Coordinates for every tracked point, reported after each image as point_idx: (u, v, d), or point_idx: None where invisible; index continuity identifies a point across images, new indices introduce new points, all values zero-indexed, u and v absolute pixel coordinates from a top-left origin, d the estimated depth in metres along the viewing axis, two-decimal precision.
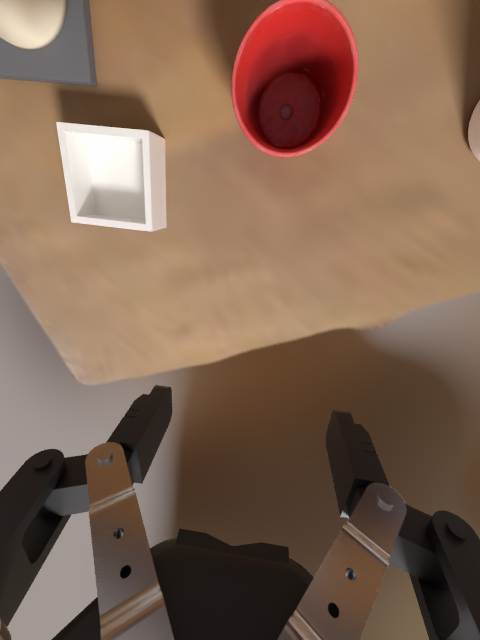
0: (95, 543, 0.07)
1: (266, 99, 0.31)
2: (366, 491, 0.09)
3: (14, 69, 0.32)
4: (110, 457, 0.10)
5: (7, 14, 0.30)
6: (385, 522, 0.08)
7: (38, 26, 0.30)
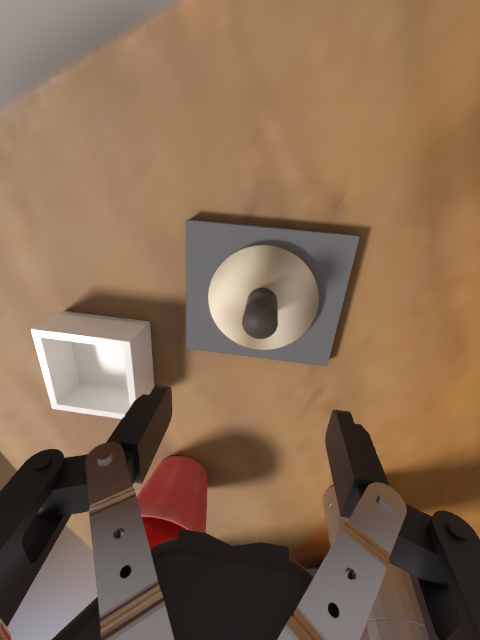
0: (95, 543, 0.07)
1: None
2: (366, 491, 0.09)
3: (192, 270, 0.28)
4: (110, 458, 0.10)
5: (233, 287, 0.27)
6: (385, 522, 0.08)
7: (224, 317, 0.29)
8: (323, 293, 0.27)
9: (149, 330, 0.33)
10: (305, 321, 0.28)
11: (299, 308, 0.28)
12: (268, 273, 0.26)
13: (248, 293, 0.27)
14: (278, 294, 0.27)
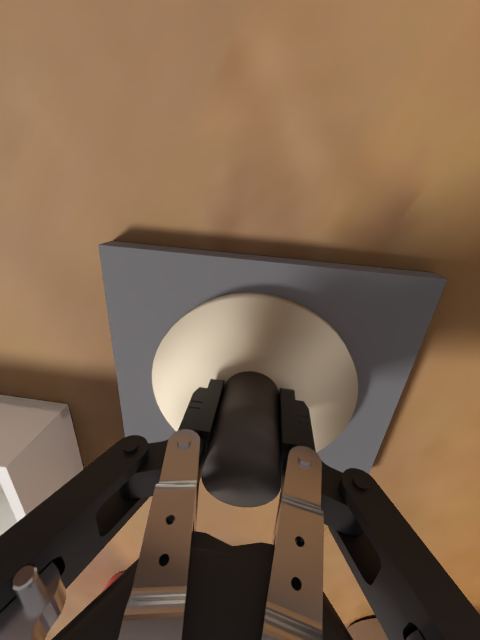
0: (150, 518, 0.07)
1: None
2: (289, 452, 0.10)
3: (121, 333, 0.15)
4: (188, 445, 0.10)
5: (197, 369, 0.15)
6: (309, 479, 0.09)
7: (183, 415, 0.16)
8: (364, 379, 0.15)
9: (67, 418, 0.20)
10: (330, 427, 0.15)
11: (320, 406, 0.15)
12: (261, 347, 0.14)
13: (224, 379, 0.15)
14: (281, 383, 0.14)
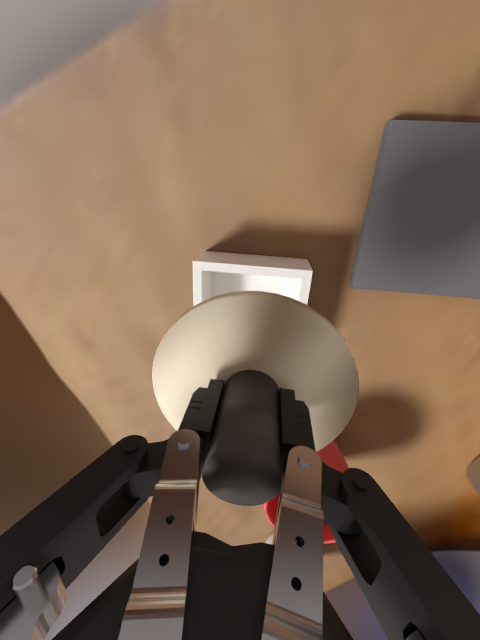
0: (150, 518, 0.07)
1: None
2: (289, 452, 0.10)
3: (383, 186, 0.24)
4: (188, 444, 0.10)
5: (197, 368, 0.15)
6: (310, 479, 0.09)
7: None
8: None
9: None
10: (331, 426, 0.15)
11: (321, 405, 0.15)
12: (262, 345, 0.14)
13: (225, 378, 0.15)
14: (281, 381, 0.14)
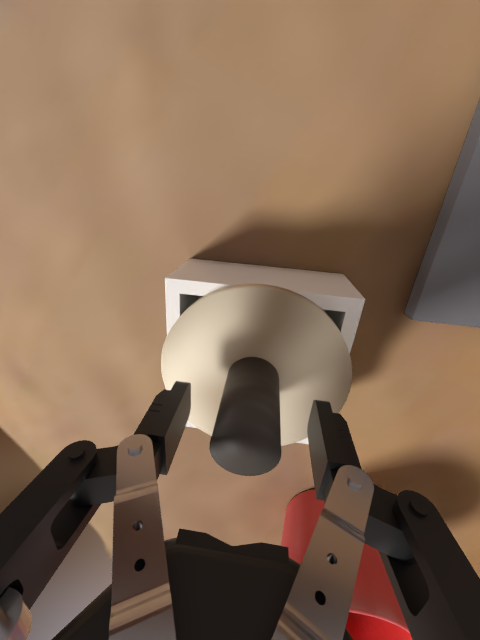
0: (116, 531, 0.07)
1: None
2: (337, 473, 0.10)
3: None
4: (139, 449, 0.10)
5: (203, 355, 0.16)
6: (356, 502, 0.09)
7: None
8: None
9: None
10: None
11: (317, 390, 0.16)
12: (263, 334, 0.15)
13: (229, 365, 0.16)
14: (281, 367, 0.16)
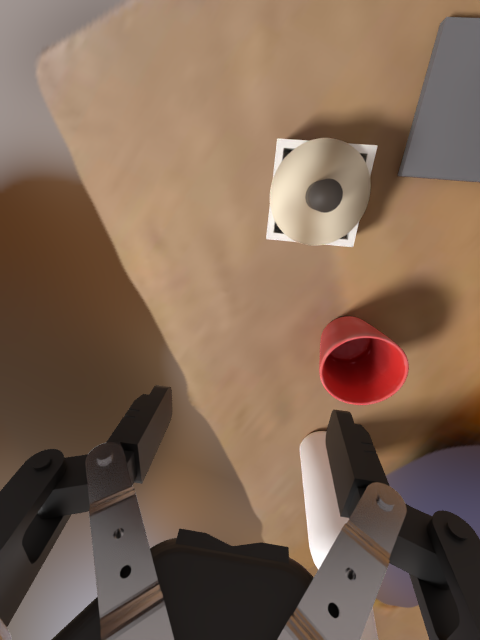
0: (95, 543, 0.07)
1: None
2: (366, 491, 0.09)
3: (435, 77, 0.29)
4: (110, 458, 0.10)
5: (294, 181, 0.31)
6: (385, 522, 0.08)
7: (283, 213, 0.32)
8: None
9: None
10: (357, 213, 0.31)
11: (352, 200, 0.31)
12: (326, 165, 0.30)
13: (307, 187, 0.31)
14: None
